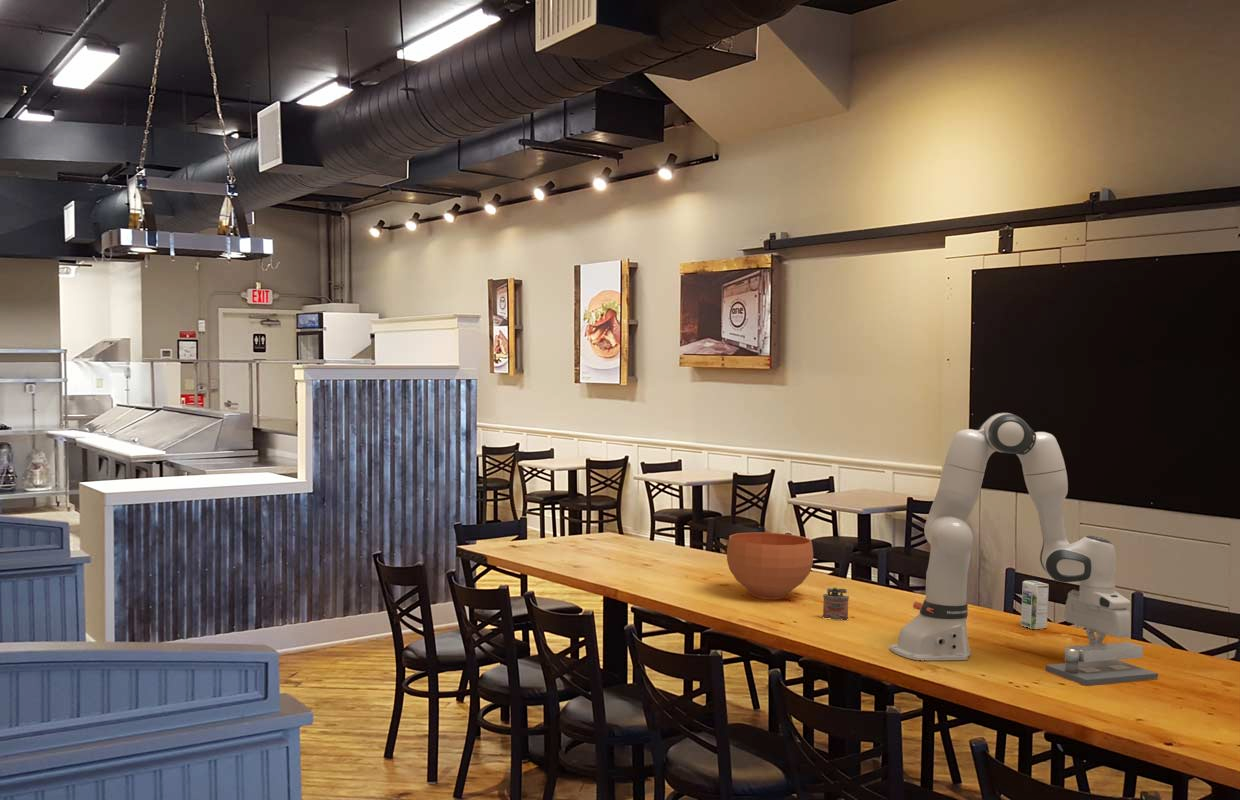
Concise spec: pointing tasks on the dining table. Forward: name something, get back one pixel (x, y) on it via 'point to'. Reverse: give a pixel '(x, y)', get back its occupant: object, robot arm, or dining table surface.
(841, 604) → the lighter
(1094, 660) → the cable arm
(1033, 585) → the syrup box
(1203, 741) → the dining table surface
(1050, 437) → the robot arm
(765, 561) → the bowl
